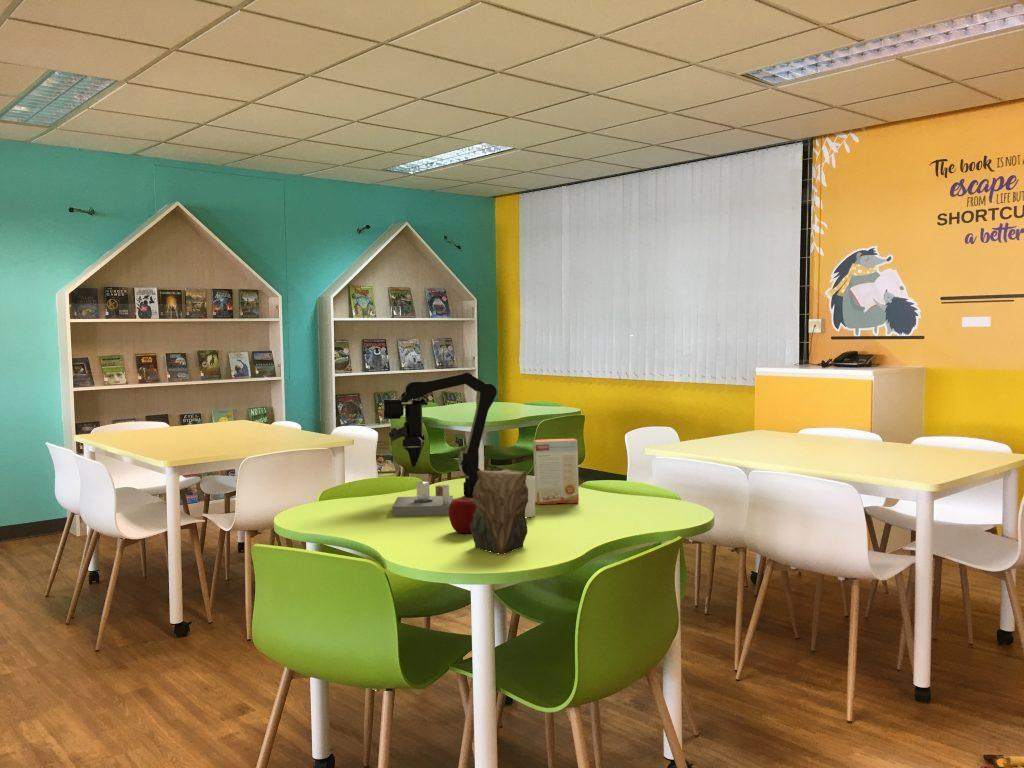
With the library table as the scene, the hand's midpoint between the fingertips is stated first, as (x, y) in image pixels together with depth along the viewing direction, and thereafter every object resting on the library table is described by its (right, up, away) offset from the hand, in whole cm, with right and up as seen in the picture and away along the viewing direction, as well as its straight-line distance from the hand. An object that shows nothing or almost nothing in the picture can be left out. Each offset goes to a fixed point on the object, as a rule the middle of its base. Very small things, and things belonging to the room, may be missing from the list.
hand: (414, 464), depth 284 cm
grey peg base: (+5, -13, -17) cm, 22 cm away
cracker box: (+47, -12, -8) cm, 50 cm away
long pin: (+5, -13, -17) cm, 22 cm away
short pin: (+9, -12, -2) cm, 15 cm away
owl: (+29, -16, -66) cm, 74 cm away
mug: (+35, -13, -28) cm, 47 cm away
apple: (+20, -15, -48) cm, 54 cm away
